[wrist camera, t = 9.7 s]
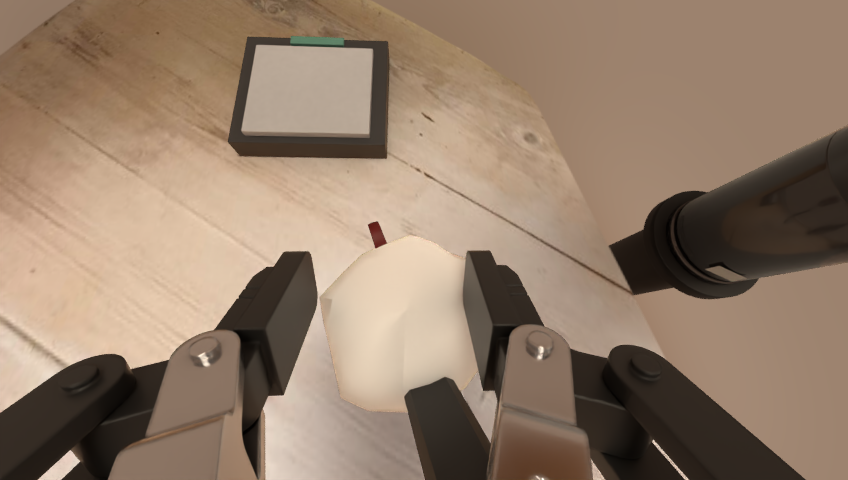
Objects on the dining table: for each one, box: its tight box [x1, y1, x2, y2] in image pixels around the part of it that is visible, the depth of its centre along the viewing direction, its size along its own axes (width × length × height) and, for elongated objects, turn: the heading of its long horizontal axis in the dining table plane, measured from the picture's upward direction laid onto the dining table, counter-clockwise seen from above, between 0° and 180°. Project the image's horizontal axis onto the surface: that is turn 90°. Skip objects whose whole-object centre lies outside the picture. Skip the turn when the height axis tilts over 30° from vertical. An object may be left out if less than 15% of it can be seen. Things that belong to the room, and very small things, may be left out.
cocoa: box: [320, 222, 491, 480], centre depth 11 cm, size 10×6×12 cm, turn 178°
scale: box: [228, 36, 389, 158], centre depth 34 cm, size 15×13×3 cm
